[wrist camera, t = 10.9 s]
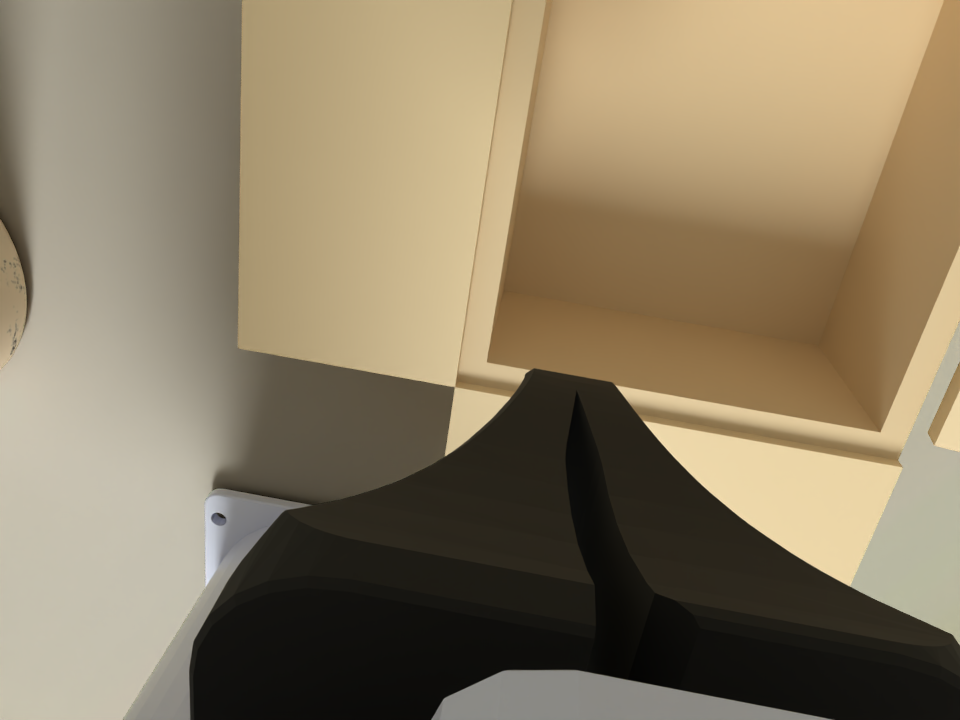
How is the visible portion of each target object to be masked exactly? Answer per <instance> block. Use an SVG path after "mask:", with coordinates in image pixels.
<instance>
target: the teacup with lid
mask: <svg viewBox="0 0 960 720" xmlns="http://www.w3.org/2000/svg"><path fill="white" fill-rule="evenodd" d="M26 313H27V296H26V285H25V280H24V274H23V271H22V267H21V263H20V260H19V257H18V254H17V252H16V249H15V246H14V244H13V242H12V240H11V238H10V236H9V233H8V232H7V230H6V228H5V226H4V225H3V223H2V221H1V219H0V370H1V369H2V368H3V367H4V366H5V365H6V364H7V362H8V361H9V360H10V358H11V357H12V355H13V354H14V352H15V350H16V348H17V346H18V344H19V341H20V339H21V336H22V333H23V329H24V326H25V320H26Z"/></svg>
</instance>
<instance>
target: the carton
mask: <svg viewBox="0 0 960 720" xmlns="http://www.w3.org/2000/svg"><path fill="white" fill-rule="evenodd" d="M959 321H960V0H242V43H241V125H240V207H239V289H238V348H239V349H244V350H250V351H255V352H261V353H267V354H272V355H278V356H283V357H289V358H295V359H300V360H306V361H311V362H317V363H322V364H328V365H334V366H339V367H345V368H350V369H356V370H361V371H367V372H373V373H378V374H384V375H389V376H395V377H401V378H406V379H412V380H417V381H423V382H428V383H434V384H440V385H445V386H451V387H455V390H454V397H453V404H452V411H451V418H450V424H449V431H448V438H447V445H446V451H445V456H447V455H448V454H450V453H451V452H452V451H454V450H455V449H457V448H458V447H459V446H461V445H462V444H463V443H465V442H466V441H467V440H468V439H470V438H471V437H472V436H473V435H474V434H475V433H476V432H477V431H479V430H480V429H481V428H482V427H483V426H484V425H485V424H486V423H488V422H489V421H490V420H491V419H492V418H493V417H494V416H495V415H496V414H497V413H498V411H499V410H500V409H501V408H502V407H503V406H504V405H505V404H506V403H507V402H508V400H509V399H510V398H511V397H512V395H513V394H514V393H515V392H516V390H517V389H518V387H519V386H520V384H521V383H522V381H523V379H524V377H525V373H527V372H529V371H530V370H532V369H533V368H536V369H541V370H547V371H553V372H558V373H564V374H569V375H575V376H581V377H586V378H592V379H597V380H603V381H609V382H613V383H614V385H615V386H616V387H617V388H618V389H619V391H620V392H621V393H622V395H623V396H624V397H625V399H626V400H627V401H628V403H629V404H630V405H631V406H632V408H633V409H634V410H635V412H636V413H637V414H638V415H639V417H640V418H641V419H642V421H643V422H644V423H645V424H646V426H647V427H648V428H649V429H650V430H651V432H652V433H653V434H654V435H655V436H656V438H657V439H658V440H659V441H660V442H661V443H662V444H663V446H664V447H665V448H666V449H667V450H668V451H669V452H670V453H671V454H672V456H673V457H674V458H675V459H676V460H677V461H678V462H679V463H680V464H681V465H682V466H683V467H684V468H685V469H686V470H687V471H688V472H689V473H690V474H691V475H692V476H693V477H694V478H695V479H696V480H697V481H698V482H699V483H700V484H701V485H702V486H704V487H705V488H706V489H707V490H708V491H709V492H710V493H711V494H713V495H714V496H715V497H716V498H717V499H719V500H720V501H721V502H722V503H723V504H725V505H726V506H727V507H728V508H729V509H731V510H732V511H733V512H734V513H735V514H737V515H738V516H739V517H740V518H742V519H743V520H744V521H746V522H747V523H748V524H750V525H751V526H753V527H754V528H755V529H757V530H758V531H759V532H761V533H762V534H764V535H765V536H767V537H768V538H770V539H771V540H773V541H774V542H776V543H777V544H779V545H780V546H782V547H783V548H785V549H786V550H788V551H789V552H791V553H792V554H794V555H795V556H797V557H799V558H800V559H802V560H804V561H805V562H807V563H809V564H810V565H812V566H814V567H815V568H817V569H819V570H820V571H822V572H824V573H826V574H828V575H829V576H831V577H833V578H835V579H837V580H839V581H840V582H842V583H844V584H846V585H848V586H850V585H851V582H852V580H853V578H854V576H855V573H856V571H857V569H858V567H859V565H860V562H861V560H862V558H863V556H864V553H865V551H866V549H867V547H868V544H869V542H870V540H871V538H872V536H873V533H874V531H875V529H876V527H877V524H878V522H879V520H880V518H881V515H882V513H883V511H884V509H885V507H886V504H887V502H888V500H889V498H890V495H891V493H892V491H893V489H894V486H895V484H896V482H897V480H898V478H899V475H900V473H901V471H902V469H903V467H902V465H901V464H900V463H899V461H898V459H899V457H900V454H901V452H902V450H903V447H904V445H905V443H906V441H907V438H908V436H909V434H910V432H911V429H912V427H913V425H914V423H915V420H916V418H917V416H918V414H919V411H920V409H921V407H922V405H923V402H924V400H925V398H926V396H927V393H928V391H929V389H930V386H931V384H932V382H933V380H934V377H935V375H936V373H937V371H938V368H939V366H940V364H941V362H942V359H943V357H944V355H945V353H946V350H947V348H948V346H949V344H950V341H951V339H952V337H953V335H954V332H955V330H956V328H957V325H958V323H959Z"/></svg>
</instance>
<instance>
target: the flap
mask: <svg viewBox="0 0 960 720" xmlns="http://www.w3.org/2000/svg"><path fill="white" fill-rule="evenodd" d="M928 434H929V436H930V438H931V440H932V442H933V444H934V446H938V447H942V448H946V449H950V450H954V451H958V452H960V362H959V365H958V367H957V369H956V371H955V373H954V376H953V378H952V380H951V382H950V384H949V387H948V389H947V391H946V393H945V395H944V398H943V400H942V402H941V404H940V406H939V409H938V411H937V413H936V415H935V417H934V420H933V422H932V424H931V426H930V428H929V431H928Z"/></svg>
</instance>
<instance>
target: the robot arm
mask: <svg viewBox="0 0 960 720" xmlns="http://www.w3.org/2000/svg"><path fill="white" fill-rule="evenodd" d="M217 513H221V514H223V515H224V516H225V517H226V519H223V518H221V517H219V516H218V515H217ZM123 720H960V645H959V644H958V642H957V641H956V639H955V638H954V636H953V635H952V634H950V633H947V632H945V631H943V630H941V629H939V628H936V627H934V626H932V625H930V624H928V623H925V622H923V621H921V620H919V619H917V618H914V617H912V616H910V615H908V614H906V613H903V612H901V611H899V610H897V609H895V608H892V607H890V606H888V605H886V604H884V603H881V602H879V601H877V600H875V599H873V598H871V597H869V596H867V595H865V594H863V593H861V592H859V591H857V590H855V589H853V588H851V587H850V586H848V585H846V584H844V583H842V582H840V581H839V580H837V579H835V578H833V577H831V576H829V575H828V574H826V573H824V572H822V571H820V570H819V569H817V568H815V567H814V566H812V565H810V564H809V563H807V562H805V561H804V560H802V559H800V558H799V557H797V556H795V555H794V554H792V553H791V552H789V551H788V550H786V549H785V548H783V547H782V546H780V545H779V544H777V543H776V542H774V541H773V540H771V539H770V538H768V537H767V536H765V535H764V534H762V533H761V532H759V531H758V530H757V529H755V528H754V527H753V526H751V525H750V524H748V523H747V522H746V521H744V520H743V519H742V518H740V517H739V516H738V515H737V514H735V513H734V512H733V511H732V510H731V509H729V508H728V507H727V506H726V505H725V504H723V503H722V502H721V501H720V500H719V499H717V498H716V497H715V496H714V495H713V494H711V493H710V492H709V491H708V490H707V489H706V488H705V487H704V486H702V485H701V484H700V483H699V482H698V481H697V480H696V479H695V478H694V477H693V476H692V475H691V474H690V473H689V472H688V471H687V470H686V469H685V468H684V467H683V466H682V465H681V464H680V463H679V462H678V461H677V460H676V459H675V458H674V457H673V456H672V454H671V453H670V452H669V451H668V450H667V449H666V448H665V447H664V446H663V444H662V443H661V442H660V441H659V440H658V439H657V438H656V436H655V435H654V434H653V433H652V432H651V430H650V429H649V428H648V427H647V426H646V424H645V423H644V422H643V421H642V419H641V418H640V417H639V415H638V414H637V413H636V412H635V410H634V409H633V408H632V406H631V405H630V404H629V403H628V401H627V400H626V399H625V397H624V396H623V395H622V393H621V392H620V391H619V389H618V388H617V387H616V386H615V385H614V383H613V382H609V381H603V380H597V379H592V378H586V377H581V376H575V375H569V374H564V373H558V372H553V371H547V370H541V369H536V368H533V369H532V370H530V371H529V372H527V373H525V377H524V379H523V381H522V383H521V384H520V386H519V387H518V389H517V390H516V392H515V393H514V394H513V395H512V397H511V398H510V399H509V400H508V402H507V403H506V404H505V405H504V406H503V407H502V408H501V409H500V410H499V411H498V413H497V414H496V415H495V416H494V417H493V418H492V419H491V420H490V421H489V422H488V423H486V424H485V425H484V426H483V427H482V428H481V429H480V430H479V431H477V432H476V433H475V434H474V435H473V436H472V437H471V438H470V439H468V440H467V441H466V442H465V443H463V444H462V445H461V446H459V447H458V448H457V449H455V450H454V451H452V452H451V453H450V454H448V455H447V456H445V457H443V458H442V459H440V460H439V461H437V462H436V463H434V464H432V465H431V466H429V467H427V468H425V469H423V470H421V471H418V472H416V473H414V474H412V475H410V476H408V477H406V478H404V479H402V480H400V481H397V482H395V483H392V484H389V485H386V486H384V487H381V488H378V489H375V490H372V491H369V492H366V493H363V494H359V495H356V496H352V497H349V498H345V499H341V500H336V501H331V502H326V503H321V504H316V505H308V504H303V503H298V502H292V501H287V500H282V499H276V498H271V497H265V496H260V495H255V494H249V493H244V492H238V491H233V490H228V489H215V490H213V491H212V492H211V493H210V494H209V495H208V496H207V498H206V500H205V589H204V590H203V592H202V594H201V595H200V597H199V598H198V600H197V602H196V603H195V605H194V606H193V608H192V610H191V611H190V613H189V614H188V616H187V618H186V619H185V621H184V622H183V624H182V626H181V627H180V629H179V630H178V632H177V634H176V635H175V637H174V638H173V640H172V642H171V643H170V645H169V646H168V648H167V650H166V651H165V653H164V654H163V656H162V658H161V659H160V661H159V662H158V664H157V666H156V667H155V669H154V670H153V672H152V674H151V675H150V677H149V678H148V680H147V682H146V683H145V685H144V686H143V688H142V690H141V691H140V693H139V694H138V696H137V698H136V699H135V701H134V702H133V704H132V705H131V707H130V709H129V710H128V712H127V713H126V715H125V717H124V718H123Z"/></svg>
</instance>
